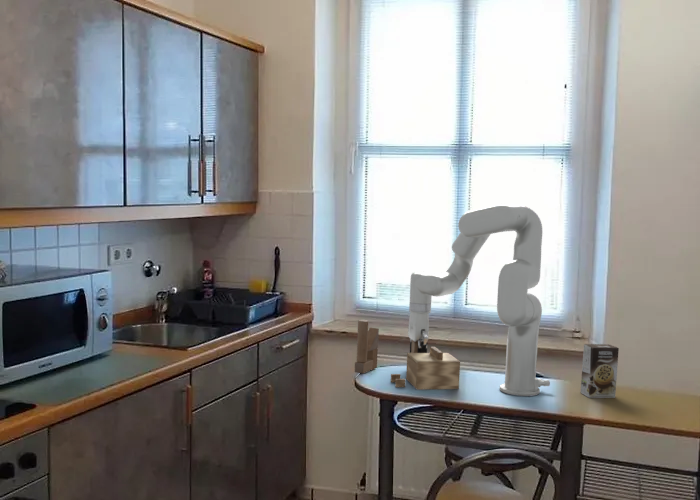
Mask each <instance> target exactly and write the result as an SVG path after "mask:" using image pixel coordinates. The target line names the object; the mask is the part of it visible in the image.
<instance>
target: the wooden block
mask: <svg viewBox="0 0 700 500" xmlns="http://www.w3.org/2000/svg"><path fill="white" fill-rule="evenodd" d="M379 331H380V329H379V327H378V328H377V327H369V320H367V319H359V320H357V339H356V341H357V343H356V361H355V362H354V373H357V374H358V373H359V374H367V373H368V372H370V370H371V371H373V370H375V369H377V368H378V353H379V352H378V350H379V349H378V348H379V333H380V332H379Z"/></svg>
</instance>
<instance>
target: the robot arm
mask: <svg viewBox="0 0 700 500" xmlns="http://www.w3.org/2000/svg"><path fill="white" fill-rule="evenodd" d="M457 225H458V226H457V227H458V230H459V234H458V235H457V237H456V239H455V240H454V242H453V243H452V245H451V249H452V251H453V253H454V258H453V261H452V262H451V264H450V266H449V267H448V268H447V270H446V272H443V273H442V272H441V273H436V274H435V273H434V274H432V273H430V272H425V271H414V272H412V273H411V275H410V283H409V306H408V307H409V308H408V309H409V310H408V311H409V320H408V331H407V337H409V341H410V342H409V353H411V345H412V340H413V341H417V340H418V346H419V348H418V353H428V342H429V341H428V340H429V333H430V332H429V330H430V322H429V319H430V314H431V313H432V297H444V296H448V295H452V294H454V293H456V292H457V291H458V290H459V289H460V288H461V287H462V285H463V284H464V282H465V281H466V280H467V279H468V277H469V275H470V272H471V270H472V267H473V262H474V260H475V257H476V256H477V254H478V253H479V252H480V250H481V248H482V247H483V245H484V244H485V243H486V242H487V240H488V239H489V237H490V236H491V235H492V234H497V233H503V232H515V233H516V238H515V240H514V243H513V244H514V245H513V256H512V258H513V259H512V261H509V262H506V264H504V265H503V266H502V267H501V269H500V271H499V276H498V283H497V301H496V303H497V304H496V311H497V316H498V318H499V320H500V321H501V322H502V324H504V325H505V326H507V327H508V328H507V337H506V338H507V340H506V353H505V354H506V355H505V356H506V357H505V372H504V374H505V375H504V383H502V384H500V385H499V390H500V391H501V393H504V394H508V395H512V396H520V397H535V396H538V395H539V394H540V392H541V389H540V388H541V387H542V386H543V387H550V385H551V382H550V379H542V378H537V377H536V375H537V361H538V360H537V358H538V343H539V331H540V324H541V320H542V319H541V318H542V311H543V309H542V303H541V302H540V300H539V298H538V297H537V296H536V295H535V294H532V293H529V292H528V291H529V289H530V290H531V289H533V288H535V287H536V286H537V285H538V284H539V283H540V279H541V266H542V265H541V264H542V245H543V224H542V221H541V218H540V217H539V215H538V214H537V213H536V212H535V211H534V210H533V209H531V208H530V207H528V206H525V205H523V204H514V203H511V204H505V203H504V204H502V203H501V204H497V205H492V206H488V207H484V208H478V209H473V210H469V211H466V212H464V213H463V214H462V215H461V216H460V217H459V220H458V224H457Z"/></svg>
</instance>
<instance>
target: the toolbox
mask: <svg viewBox="0 0 700 500" xmlns="http://www.w3.org/2000/svg"><path fill="white" fill-rule="evenodd" d="M408 353H409V352H407V354H406V371H405V372H406V373H405V374H406V376H405V378H402V377H401V376H402V375H401V373H391V374H390V382H391V383H394V384H395V385H394V387H395V388H406V381H408V383H410V385H412V387H413V388H415V390H459V389H460V373H461V372H460V371H461V361H460V360H459V361H420V362H417V363H416V362H415V361H414V360H413V359H412V358H410V357H409V356H408Z"/></svg>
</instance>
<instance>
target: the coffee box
mask: <svg viewBox="0 0 700 500" xmlns="http://www.w3.org/2000/svg"><path fill="white" fill-rule="evenodd" d="M619 350H620V349H619V347H617V346H614V345H611V344H608V343H607V344H604V343H603V344H601V343H599V344H597V343H593V344H592V343H583V351H582V352H583V353H582V354H583V356H582V367H581V380H580V393H581V394H582V395H583V396H585V397H587V398H588V399H592V398H593V399H600V398H602V399H605V398H607V399H608V398H609V399H610V398H611V399H614V398H616V391H617V379H618V377H617V376H618V367H619V366H618V364H619V362H618V361H619Z"/></svg>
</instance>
